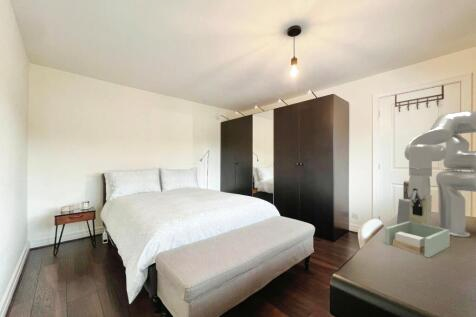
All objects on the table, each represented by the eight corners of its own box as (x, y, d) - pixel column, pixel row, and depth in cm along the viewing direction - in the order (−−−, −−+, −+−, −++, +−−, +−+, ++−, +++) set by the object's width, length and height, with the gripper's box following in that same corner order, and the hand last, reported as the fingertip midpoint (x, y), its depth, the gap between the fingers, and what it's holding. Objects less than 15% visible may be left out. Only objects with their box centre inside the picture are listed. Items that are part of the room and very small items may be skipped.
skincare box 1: (396, 227, 112) (396, 198, 112) (408, 227, 112) (408, 198, 112) (410, 233, 103) (410, 201, 103) (423, 233, 104) (423, 201, 104)
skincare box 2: (408, 220, 92) (408, 193, 92) (415, 219, 93) (414, 192, 94) (426, 224, 86) (425, 195, 86) (432, 223, 88) (432, 194, 88)
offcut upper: (400, 238, 89) (400, 231, 89) (424, 244, 82) (424, 237, 82) (395, 239, 87) (395, 233, 87) (419, 246, 80) (419, 239, 80)
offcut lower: (398, 244, 90) (398, 237, 90) (425, 252, 82) (425, 245, 82) (392, 246, 87) (392, 239, 87) (419, 255, 79) (419, 247, 79)
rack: (408, 235, 100) (408, 221, 100) (449, 246, 87) (449, 229, 88) (385, 243, 89) (385, 227, 89) (428, 257, 77) (428, 238, 77)
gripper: (417, 171, 97) (417, 210, 97) (400, 172, 89) (400, 214, 89) (439, 172, 91) (439, 214, 91) (423, 173, 82) (423, 219, 82)
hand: (420, 214), depth 90 cm, fingers closed on skincare box 2, 4 cm apart
